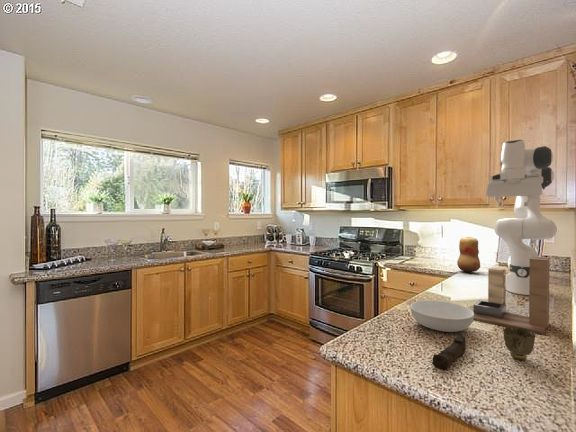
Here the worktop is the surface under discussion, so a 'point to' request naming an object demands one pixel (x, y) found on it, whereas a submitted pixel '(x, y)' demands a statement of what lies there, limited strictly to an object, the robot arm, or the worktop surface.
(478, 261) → the butternut squash
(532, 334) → the cup
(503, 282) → the rail bar
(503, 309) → the l-shaped wooden bracket
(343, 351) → the worktop surface
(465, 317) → the serving bowl
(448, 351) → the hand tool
